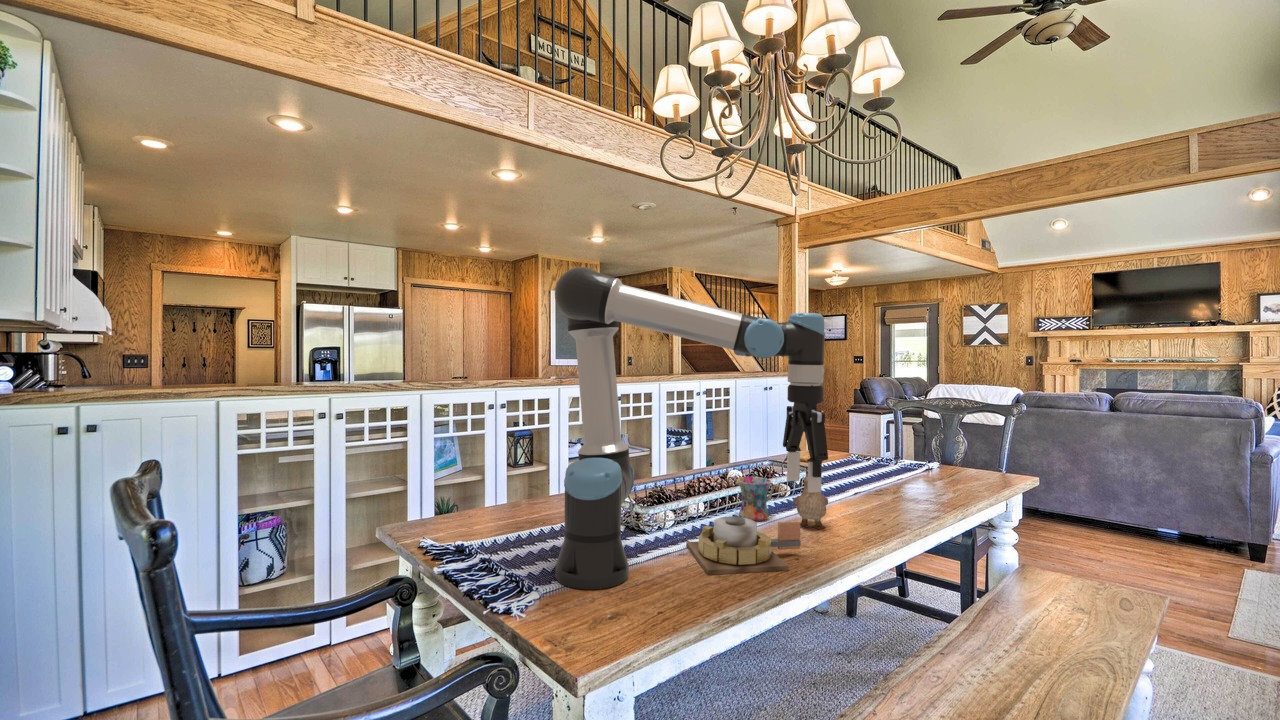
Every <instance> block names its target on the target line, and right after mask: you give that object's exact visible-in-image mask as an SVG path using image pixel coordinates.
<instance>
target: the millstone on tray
mask: <svg viewBox="0 0 1280 720" xmlns="http://www.w3.org/2000/svg"><path fill="white" fill-rule="evenodd" d="M800 523H801V522H799V521H782V522H781V521H780V522H777V538H776V539H775V538H770V537H769V536H768V535H767V534H764V533H763V532H759V531H757V542H756V546H753V547H740V548H736V547H728V546H727V541H724V540H720V539H718V540H716V541H715V543H714V526H710V525H704V526H703V527H702V529H701V530H702V532H701V533H700V535H698V541H699V546H698V550H699V552H700V553H701V554H702V555H703V556H704V557H706V558H708V559H711V560H714V561H716V562H718V561H719V562H721V563H728V564H735V565H736V564H738V565H744V564H756V563H757V564H758V563H760V562H763V561H766V560H768V559H770V556H771V554H772V552H773V548H777V549H778V550H800V549H801V545H802V543H801V542H802V540H801V525H800Z"/></svg>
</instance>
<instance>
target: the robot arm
mask: <svg viewBox="0 0 1280 720" xmlns="http://www.w3.org/2000/svg"><path fill="white" fill-rule="evenodd" d="M554 299H555V303H556V306H557V307H558V309H559V311H560V312H561V313H562V314H563V315H564V316H565V317H566V320H567V321H566V323H567V333H568V334H569V335H570V336H571V337H572V338H574V340H575V349H576V359H577V361H576V362H577V372H578V373H577V374H578V385H579V395H580V397H579V398H580V408H581V409H580V410H581V423H582V433H583V435H582V436H583V444H582V446H581V447H580V448H579V449H578V451H577V452H578V453H577V455H578V460H576V461H575V460H574V461H573V462H572V463H570V464H569V465H568V466H567V467H566V470H565V473H564V474H565V475H564V480H563V486H564V538H563V542H562V545H561V548H560V551H559V554H558V557H557V560H556V562H555V580H557V582H558V583H559V584H561V585H564V586H566V587H570V588H573V589H578V590H579V589H580V590H601V589H608V588H609V589H610V588H611V587H616V586H618V585H621V584H623V583H624V582H625V581H626V580H627V579H629V566H630V565H629V562H628V558H627V555H626V551H625V548H624V546H623V541H622V539H621V536H622V535H621V527H622V525H621V523H622V519H621V518H622V517H621V516H622V513H621V512H622V505H623V504H624V503H625V501H626V499H627V498H628V497H629V496H630V495H631V492H632V491H633V488H634V483H635V471H634V468H633V465H632V464H631V462H630V461H631V460H630V450H629V449H630V448H629V445H628V444H626V443H625V442H624V441H623V440H622V432H621V421H620V420H621V419H620V407H619V397H618V385H617V373H616V359H615V346H614V336H615V334H616V333H617V332H618V331H619V330H620V328H619V327H620V325H619V323H623V324H627V325H631V326H635V327H638V328H639V327H640V328H643V329H647V330H650V331H654V332H655V331H656V332H659V333H663V334H667V335H670V336H674V337H679V338H682V339H688V340H691V341H693V342H694V341H696V342H699V343H704V344H707V345H711V346H715V347H719V348H724V349H728V350H730V351H733V352H734V353H733V354H734V355H736V356H739V357H740V356H741V357H747V358H750V357H756V358H759V359H760V358H761V359H770V358H772V357H783V358H784V357H787V359H788V363H787V382H788V383H790V384H788V386H787V397H786V398H787V401H788V402H789V403H792V404H793V405H788V406H786V420H785V426H784V432H783V439H782V440H783V441H782V447H783V448H785V451H786V455H787V457H786V458H787V461H786V463H787V464H786V466H787V467H786V481H787V482H799V481H800V473H801V451H802V449H801V447H800V444H801V441H802V438H803V435H804V436H805V440H806V445H807V449H808V455H809V458H808V459H807V471H808V492H809V493H810V492H821V493H822V475H823V474H822V470H823V469H822V467H823V466H822V465H823V464H822V463H823V462H825V461H828V460H829V453H828V452H829V451H828V445H827V444H828V443H827V432H826V424H825V422H826V412H824V411H823V412H822V411H821V412H820V411H818V407H817V406H818V404H822V403H823V401H824V387H823V385H821V384H823V383H824V374H825V372H826V370H825V369H824V363H825V337H826V332H825V318H824V316H823V315H822V314H821V313H815V312H796V313H795V312H794V313H791V314H789V316H788V321H785V322H783V321H782V322H776V321H775V320H773V319H771V318H766V317H763V318H760V317H756V316H752V315H749V314H743V313H742V312H741V313H740V312H738V311H732V310H729V309H725V308H721V307H716V306H713V305H707V304H703V303H699V302H695V301H692V300H687V299H684V298H683V299H682V298H681V297H680V298H679V297H675V296H672V295H668V294H667V295H666V294H662V293H659V292H656V291H649V290H646V289H642V288H638V287H633V286H629V285H626V284H623V282H622V281H621V279H620V278H618V277H614V276H611V275H610V276H609V275H607V274H604V273H601V272H599V271H597V270H595V269H592V268H590V267H587V266H578V267H573V268H570V269H569V270H566V272H564V273H563V274H561V276H560V277H559V279H557V282H556V283H555V288H554Z"/></svg>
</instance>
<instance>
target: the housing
mask: <svg viewBox="0 0 1280 720" xmlns="http://www.w3.org/2000/svg"><path fill="white" fill-rule="evenodd" d="M713 529H714V543H715V541H716V540H718V539H720V540H724V541H727V546H728V547H736V548H740V547H753V546H756V542H757V532H758V530H757V529H758V523H757V522H756V520H751V519H747V518H742V517H741V516H722V517H718V518H716V519H714V521H713ZM685 543H686V544H685V545H686V548H687V549H688V551H689V552H690V553H691V555H692V556H693V557H694V559H695V560H696V562H697V563H698V564H699V565H700V566H701V568H702V570H704V572H705V573H706V575H707V576H709V575H713V576H714V575H726V574H727V575H729V574H730V575H731V574H745V573H746V574H747V573H765V572H766V573H767V572H781V571H782V572H784V571H785V572H786V571H789V565H788V564H787V563H786V562H785V561H784V559H781V558H780V557H779V556H778V555H777V554H776V553H774V552H773V551H772V554H771V556H770V559H768V560H766V561H763V562H760V563H758V564H757V563H756V564H744V565H738V564H736V565H735V564H728V563H721V562H719V561H718V562H716V561H714V560H711V559H708V558H706V557H704V556H703V555H702V554H701V553H700V552H699V550H698V546H699V540H698V541H686V542H685Z"/></svg>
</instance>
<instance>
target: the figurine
mask: <svg viewBox="0 0 1280 720" xmlns="http://www.w3.org/2000/svg"><path fill="white" fill-rule="evenodd" d="M792 504H793V505H796V511H797V514H798V515H799V516H800V517H801V522H800V527H801V526H803V528H807V527H810V524H809V523H808V520H813V521H814V525H812V528H815V529H818V530H821V529H825V528H826V527H825V526H824V525H823V523H822V518H824V517H825V515H826V514H827V505H828V504H829V499H828V497H827V496H824V495H823V493H822V491H821V492H810V493H809V492H808V470H806V471H805V477H804V478H803V490H802V493H801V494H800V495H798V496H795V497H794V498H793V501H792Z"/></svg>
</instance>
